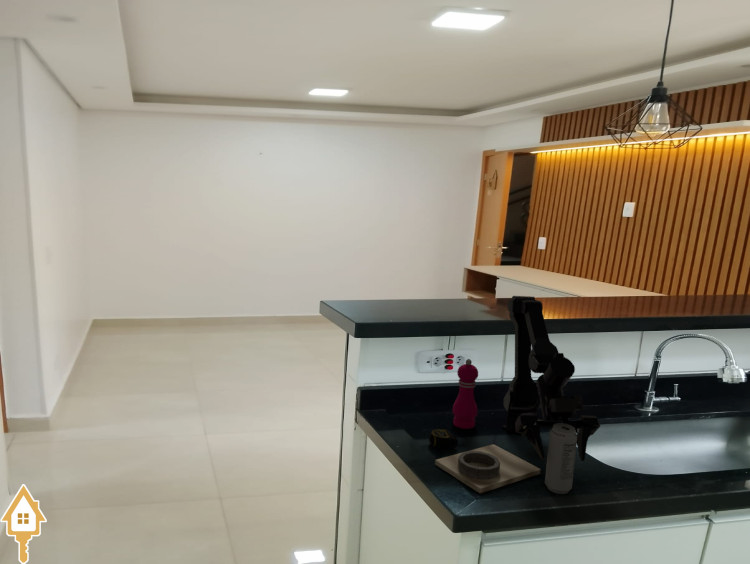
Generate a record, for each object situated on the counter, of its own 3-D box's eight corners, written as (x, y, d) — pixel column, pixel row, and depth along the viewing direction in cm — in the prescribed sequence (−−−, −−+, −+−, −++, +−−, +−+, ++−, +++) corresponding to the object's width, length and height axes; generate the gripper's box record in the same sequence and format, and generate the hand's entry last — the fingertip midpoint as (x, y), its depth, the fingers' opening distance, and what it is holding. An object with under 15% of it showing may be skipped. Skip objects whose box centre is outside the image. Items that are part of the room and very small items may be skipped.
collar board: (493, 448, 152) (494, 435, 151) (540, 473, 139) (541, 459, 138) (435, 464, 141) (436, 450, 140) (480, 493, 128) (481, 478, 127)
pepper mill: (480, 428, 165) (485, 362, 162) (457, 430, 163) (462, 363, 160) (469, 419, 172) (474, 355, 169) (447, 421, 170) (452, 356, 167)
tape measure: (458, 450, 150) (459, 437, 149) (435, 453, 148) (436, 439, 147) (447, 440, 156) (448, 427, 156) (424, 442, 154) (425, 429, 154)
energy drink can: (556, 480, 136) (562, 420, 134) (577, 491, 131) (583, 429, 129) (538, 485, 133) (544, 424, 131) (559, 497, 128) (565, 434, 125)
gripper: (522, 380, 132) (532, 445, 123) (601, 383, 132) (617, 448, 123) (510, 400, 141) (519, 463, 131) (584, 403, 141) (598, 465, 132)
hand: (563, 459), depth 129 cm, fingers open, 9 cm apart
